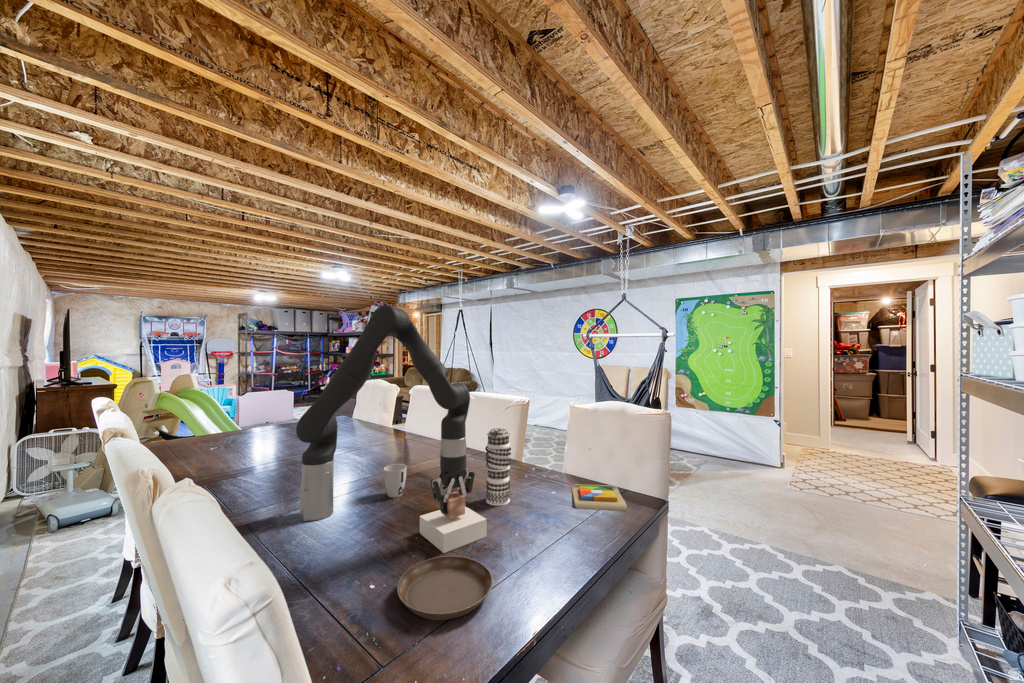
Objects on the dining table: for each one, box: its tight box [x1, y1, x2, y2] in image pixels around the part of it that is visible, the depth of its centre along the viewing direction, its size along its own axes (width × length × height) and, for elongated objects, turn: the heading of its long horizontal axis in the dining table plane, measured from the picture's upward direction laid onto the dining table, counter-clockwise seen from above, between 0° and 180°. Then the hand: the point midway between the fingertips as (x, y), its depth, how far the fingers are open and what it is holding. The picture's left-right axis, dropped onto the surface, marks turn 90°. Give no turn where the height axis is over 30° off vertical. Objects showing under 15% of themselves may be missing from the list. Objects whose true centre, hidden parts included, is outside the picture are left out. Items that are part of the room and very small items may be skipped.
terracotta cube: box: [441, 491, 466, 519], centre depth 112 cm, size 5×5×5 cm
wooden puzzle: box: [571, 483, 628, 512], centre depth 139 cm, size 18×19×4 cm
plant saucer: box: [396, 555, 494, 621], centre depth 85 cm, size 21×21×3 cm
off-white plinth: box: [419, 505, 488, 554], centre depth 112 cm, size 14×14×5 cm
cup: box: [383, 463, 408, 498], centre depth 141 cm, size 8×8×10 cm
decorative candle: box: [485, 428, 512, 507], centre depth 136 cm, size 9×9×25 cm
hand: (453, 510), depth 112 cm, fingers closed on terracotta cube, 5 cm apart
